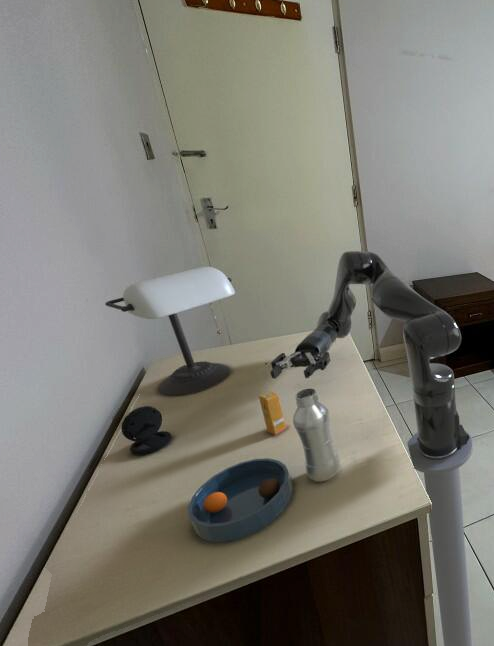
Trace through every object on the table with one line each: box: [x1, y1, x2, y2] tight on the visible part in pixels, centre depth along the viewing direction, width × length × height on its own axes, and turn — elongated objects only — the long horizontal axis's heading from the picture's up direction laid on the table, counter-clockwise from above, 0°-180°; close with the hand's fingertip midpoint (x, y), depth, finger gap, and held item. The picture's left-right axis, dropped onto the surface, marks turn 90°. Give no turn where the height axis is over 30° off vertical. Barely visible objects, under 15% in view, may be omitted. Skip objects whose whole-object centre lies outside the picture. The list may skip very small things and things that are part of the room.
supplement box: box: [258, 390, 287, 436], centre depth 95 cm, size 3×3×10 cm
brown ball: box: [259, 478, 280, 499], centre depth 77 cm, size 4×4×4 cm
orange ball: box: [204, 492, 227, 513], centre depth 74 cm, size 4×4×4 cm
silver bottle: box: [292, 387, 341, 483], centre depth 79 cm, size 6×7×20 cm
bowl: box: [187, 457, 293, 544], centre depth 75 cm, size 16×16×4 cm
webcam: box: [120, 405, 172, 456], centre depth 91 cm, size 8×8×10 cm
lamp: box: [105, 266, 236, 397], centre depth 112 cm, size 26×24×34 cm
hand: (289, 375), depth 103 cm, fingers open, 8 cm apart
